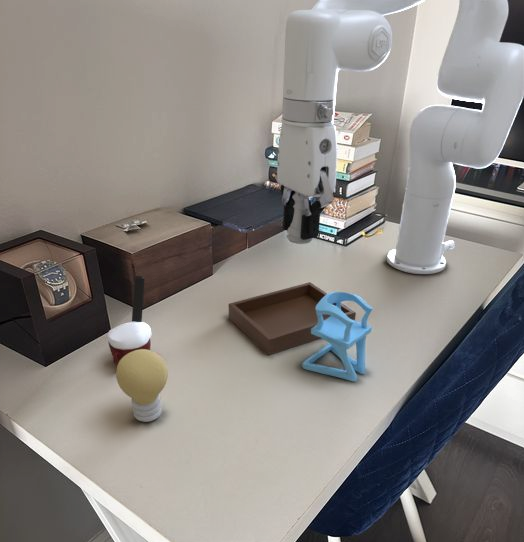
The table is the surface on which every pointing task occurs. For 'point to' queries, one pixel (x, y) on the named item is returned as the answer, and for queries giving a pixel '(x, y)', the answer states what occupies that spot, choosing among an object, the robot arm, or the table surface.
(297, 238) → the rook chess piece
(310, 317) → the tray
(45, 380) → the table surface
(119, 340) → the cocoa
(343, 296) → the chair
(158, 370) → the light bulb
